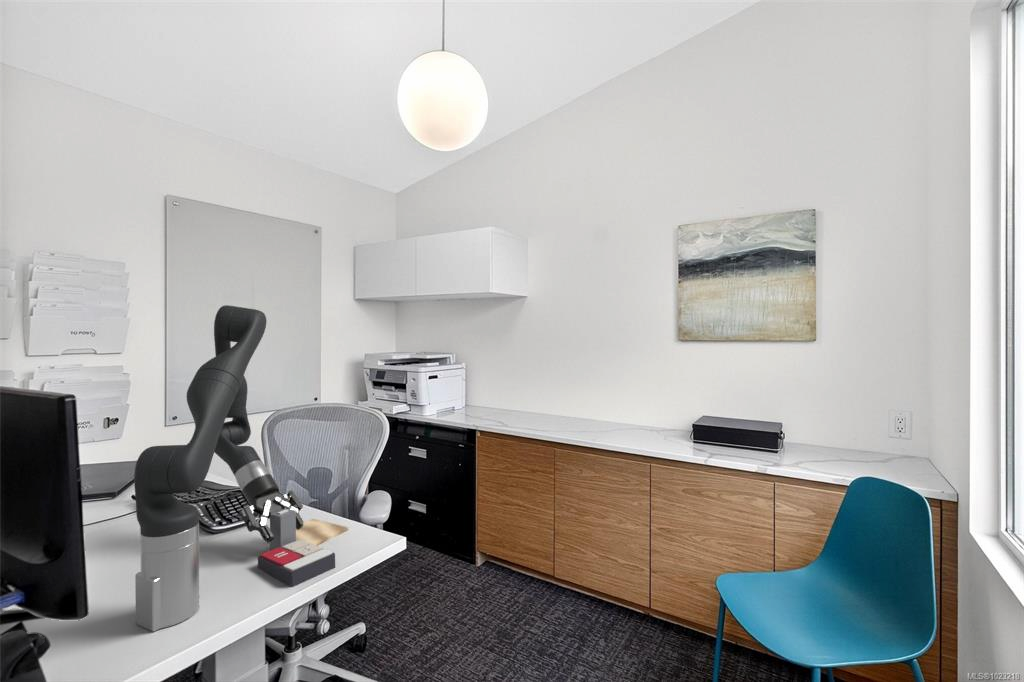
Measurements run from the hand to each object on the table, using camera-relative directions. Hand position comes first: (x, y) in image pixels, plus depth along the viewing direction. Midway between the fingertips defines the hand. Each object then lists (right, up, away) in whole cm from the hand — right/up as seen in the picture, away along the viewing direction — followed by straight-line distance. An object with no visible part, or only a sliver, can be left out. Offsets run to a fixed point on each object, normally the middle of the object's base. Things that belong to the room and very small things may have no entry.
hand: (286, 533), depth 117 cm
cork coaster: (+1, -5, +10) cm, 12 cm away
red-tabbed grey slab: (+6, -5, -8) cm, 11 cm away
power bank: (-1, -5, +1) cm, 5 cm away
